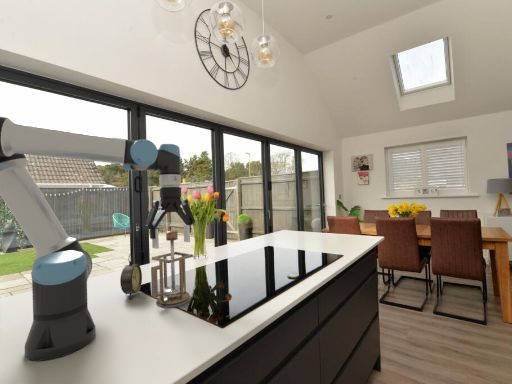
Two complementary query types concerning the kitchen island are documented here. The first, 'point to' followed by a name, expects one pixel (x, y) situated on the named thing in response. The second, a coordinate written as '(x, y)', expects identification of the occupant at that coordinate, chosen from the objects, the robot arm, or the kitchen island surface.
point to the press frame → (166, 300)
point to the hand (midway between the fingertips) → (172, 244)
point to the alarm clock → (131, 278)
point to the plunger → (172, 265)
